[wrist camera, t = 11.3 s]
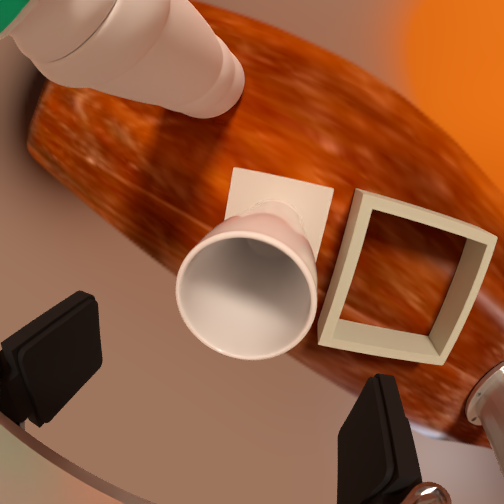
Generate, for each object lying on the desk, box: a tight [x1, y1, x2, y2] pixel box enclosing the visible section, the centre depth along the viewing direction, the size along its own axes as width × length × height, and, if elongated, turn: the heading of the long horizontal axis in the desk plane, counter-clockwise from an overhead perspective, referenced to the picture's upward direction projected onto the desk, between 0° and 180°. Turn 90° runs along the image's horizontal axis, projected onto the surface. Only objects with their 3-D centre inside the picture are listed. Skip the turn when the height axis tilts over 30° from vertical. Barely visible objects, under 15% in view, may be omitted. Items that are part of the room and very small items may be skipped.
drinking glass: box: [175, 199, 318, 360], centre depth 21 cm, size 7×7×15 cm
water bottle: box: [0, 0, 245, 118], centre depth 14 cm, size 7×7×25 cm
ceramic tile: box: [224, 167, 334, 262], centre depth 28 cm, size 9×9×1 cm
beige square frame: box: [317, 188, 498, 365], centre depth 26 cm, size 14×14×4 cm
